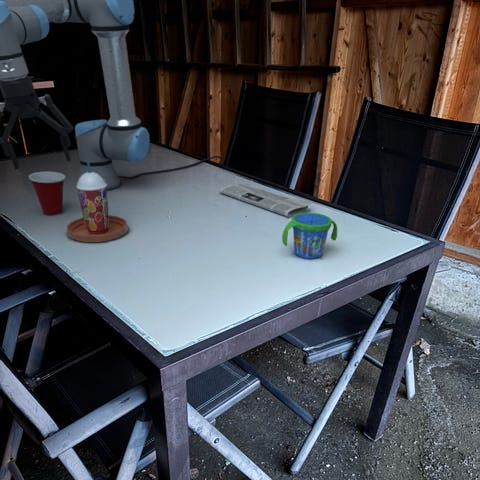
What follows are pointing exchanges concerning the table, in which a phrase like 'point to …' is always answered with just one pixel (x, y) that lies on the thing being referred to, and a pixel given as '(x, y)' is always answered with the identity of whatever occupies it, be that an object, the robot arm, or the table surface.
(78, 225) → the plate
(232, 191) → the newspaper
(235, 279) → the table surface
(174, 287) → the table surface
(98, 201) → the smoothie
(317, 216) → the snack cup
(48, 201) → the plastic cup
